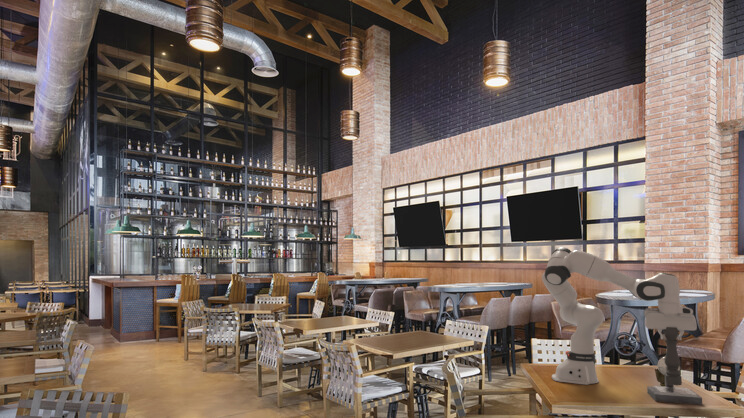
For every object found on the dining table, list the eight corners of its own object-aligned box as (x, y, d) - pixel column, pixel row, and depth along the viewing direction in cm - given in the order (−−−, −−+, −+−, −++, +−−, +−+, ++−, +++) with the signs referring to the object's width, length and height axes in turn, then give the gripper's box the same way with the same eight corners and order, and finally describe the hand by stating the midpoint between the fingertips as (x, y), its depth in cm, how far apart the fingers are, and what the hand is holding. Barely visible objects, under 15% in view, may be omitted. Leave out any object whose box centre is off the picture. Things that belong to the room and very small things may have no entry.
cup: (675, 388, 235) (674, 371, 235) (659, 387, 236) (658, 371, 237) (669, 384, 242) (668, 368, 243) (653, 384, 243) (652, 367, 244)
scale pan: (660, 394, 213) (660, 391, 214) (653, 388, 224) (653, 385, 224) (696, 397, 209) (696, 394, 209) (688, 390, 220) (688, 388, 220)
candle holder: (681, 386, 213) (678, 328, 215) (665, 384, 216) (662, 327, 219) (681, 383, 218) (678, 326, 221) (665, 381, 221) (662, 325, 224)
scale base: (655, 401, 214) (653, 360, 216) (647, 392, 227) (645, 354, 229) (702, 404, 208) (699, 363, 210) (691, 396, 222) (689, 357, 224)
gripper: (645, 308, 221) (647, 339, 219) (697, 310, 215) (699, 342, 213) (642, 307, 227) (643, 337, 225) (692, 308, 221) (694, 339, 219)
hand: (671, 339), depth 219 cm, fingers closed on candle holder, 5 cm apart
